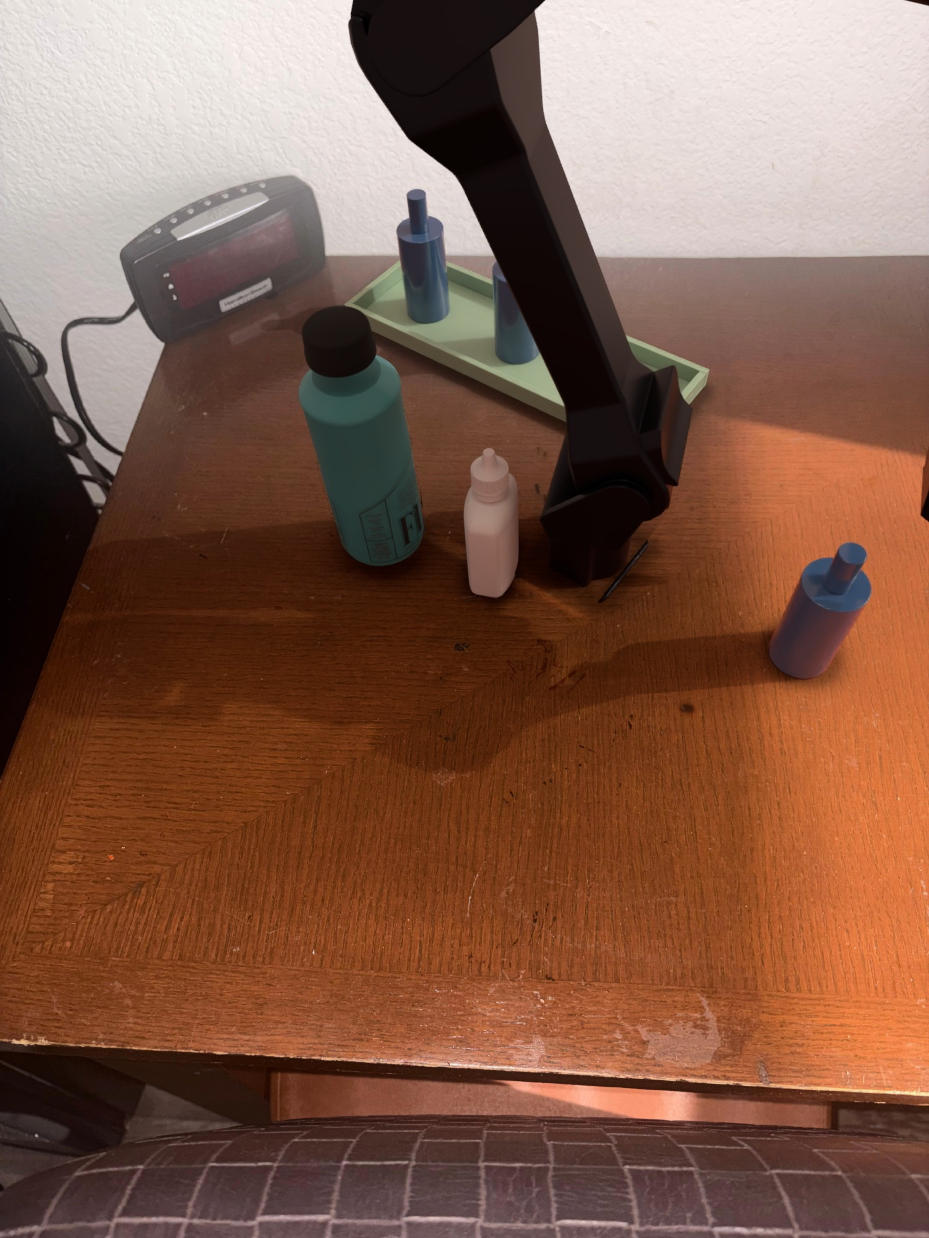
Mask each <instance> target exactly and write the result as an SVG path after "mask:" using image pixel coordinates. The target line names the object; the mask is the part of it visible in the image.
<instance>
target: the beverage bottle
mask: <svg viewBox="0 0 929 1238" xmlns="http://www.w3.org/2000/svg"><path fill="white" fill-rule="evenodd" d="M301 338H302V343H303V353H304V358H305V362H306V364H307V367H308V368H309V369H308V370H307V372H306V373H305V374H304V376H303V377H302V378H301V381H300V383H299V387H298V391H297V392H298V394H297V396H298V402H299V405H300V407H301V410H302V411H303V414H304V417H305V421H306V424H307V428H308V432H309V435H310V438H311V441H312V446H313V448H314V452H315V455H316V458H317V463H318V467H319V468H317V471H318V472H320V475H321V478H322V479H321V478H319V479H320V482H321V484H322V482H323V485H324V489H323V492H324V495H325V499H326V502H327V505H328V510H331V513H332V517H331V518H332V521H333V526H334V528H336V529H335V532H336V535H337V536H338V537H337V538H338V540H339V541H340V542H341V544H340V545H341V547H342V549H343V550H344V551H345V552H347V553H348V554H349V556H350V557H352V558H353V559H354V560H356V561H358V562H360V563H362V564H365V565H369V566H374V567H384V566H390V565H394V564H397V563H400V562H402V561H404V560H405V559H407V558H409V557H411V556H412V555H413V554H414V553H415V552H416V550H417V549H418V548H419V547H420V545H421V543H422V540H423V538H424V535H425V528H426V523H425V519H426V517H425V515H423V514H425V512H424V505H423V498H422V492H421V490H419V487H420V486H421V485H419V478H418V477H419V475H418V473H416V472H417V468H418V467H417V466H415V461H414V457H413V451H412V450H413V448H412V446H413V443H414V442H413V439H412V437H410V432H409V427H408V426H409V425H408V422H407V421H408V420H407V419H406V417H407V416H408V415H407V413H406V411H405V406H404V401H403V395H402V381H401V377H400V374H399V372H398V371H397V369H396V368H395V367H394V365H393V364H391V362H390V361H388V360H387V359H385V358H383V357H381V356H380V355H378V354H377V352H378V351H377V349H378V348H377V343H376V339H375V336H374V333H373V331H372V330H371V326H370V323H369V320H368V318H367V317H366V315H365V314H364V313H363V312H361V311H360V310H358V309H356V308H353V307H349V306H344V305H332V306H327V307H324V308H321V309H319V310H316V311H315V312H314V313H312V314H311V315H310V316H309V317H308V318H306V320H305V321H304V324H303V325H302V329H301ZM410 429H411V428H410ZM319 469H320V471H319ZM326 495H327V496H326Z"/></svg>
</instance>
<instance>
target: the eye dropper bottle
mask: <svg viewBox="0 0 929 1238" xmlns="http://www.w3.org/2000/svg"><path fill="white" fill-rule="evenodd" d="M469 472H470V485H471V486H470V487H469V489H468V491H467V494H466V496H465V500H464V506H463V526H464V527H463V528H464V538H465V541H464V542H465V551H466V562H467V573H468V585H469V588H470V591H471V592H472V593H473V594H474V595H479V596H482V597H489V598H500V597H502V596H503V595H504V594H505V592H506V591H507V590H508V589H509V587H510V586H511V584H512V583H513V581H514V578H515V577H516V574H515V573H516V570H517V567H518V563H519V551H520V549H519V490H518V484H517V481H516V479H515V477H514V475H513V474H511V473H510V469H509V464H508V461H507V460H505V458H503V457H502V456H500V455H497V454H496V453H495V450H494V449H493V448H491V447H487V448H485V449H483V451H482V454H481V456H478V457H477V458H476V459H474V460H473V462H472V463H471V466H470V471H469Z"/></svg>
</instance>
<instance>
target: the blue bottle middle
mask: <svg viewBox="0 0 929 1238" xmlns="http://www.w3.org/2000/svg"><path fill="white" fill-rule="evenodd" d="M491 277H492V279H491V280H492V281H493V313H494V345H495V353H496V355H497V357H498V358H499V359H500V360H502V361H504V362H506V363H509V364H524V363H528V362H530V361H532V360H534V359H535V358H536V357H537V356H538V354H539V353H540V352H539V350H538V348H537V346H536V344H535V342H534V339H533V337H532V335H531V333H530V331H529V329H528V327H527V325H526V322H525V320H524V318H523V316H522V314H521V312H520V310H519V308H518V305H517V303H516V301H515V299H514V297H513V295H512V293H511V290H510V288H509V286H508V284H507V282H506V280H505V278H504V276H503V273H502V271H501V269H500V267H499V265H498V263H497V261H496V260H495V261H494V263H493V265H492V268H491Z"/></svg>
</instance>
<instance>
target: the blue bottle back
mask: <svg viewBox="0 0 929 1238" xmlns="http://www.w3.org/2000/svg"><path fill="white" fill-rule="evenodd" d="M406 204H407V213H408V217H407V218H405V219H404V220H402V221H401V222H400V223H398V225H397V227H396V229H395V231H396V233H395V235H396V240H397V247H398V255H399V256H398V257H399V260H400V264H401V272H402V279H403V287H404V294H405V302H406V310H407V314H408V316H409V317H410V318H411V319H412V320H413V321H415V322H418V323H424V324H429V323H435V322H438V321H440V320H442V319H444V318H445V317H446V316H447V315H448V314H449V311H450V300H449V288H448V276H447V263H446V261H447V252H446V239H445V230H444V228H445V227H444V224H443V222H442V221H441V220H440V219H438V218H437V217H435V216H430V215H429V211H428V200H427V193H426V191H425V190H423V189H421V188H413V189H410V190H409V191H408V192H407V193H406Z"/></svg>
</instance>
